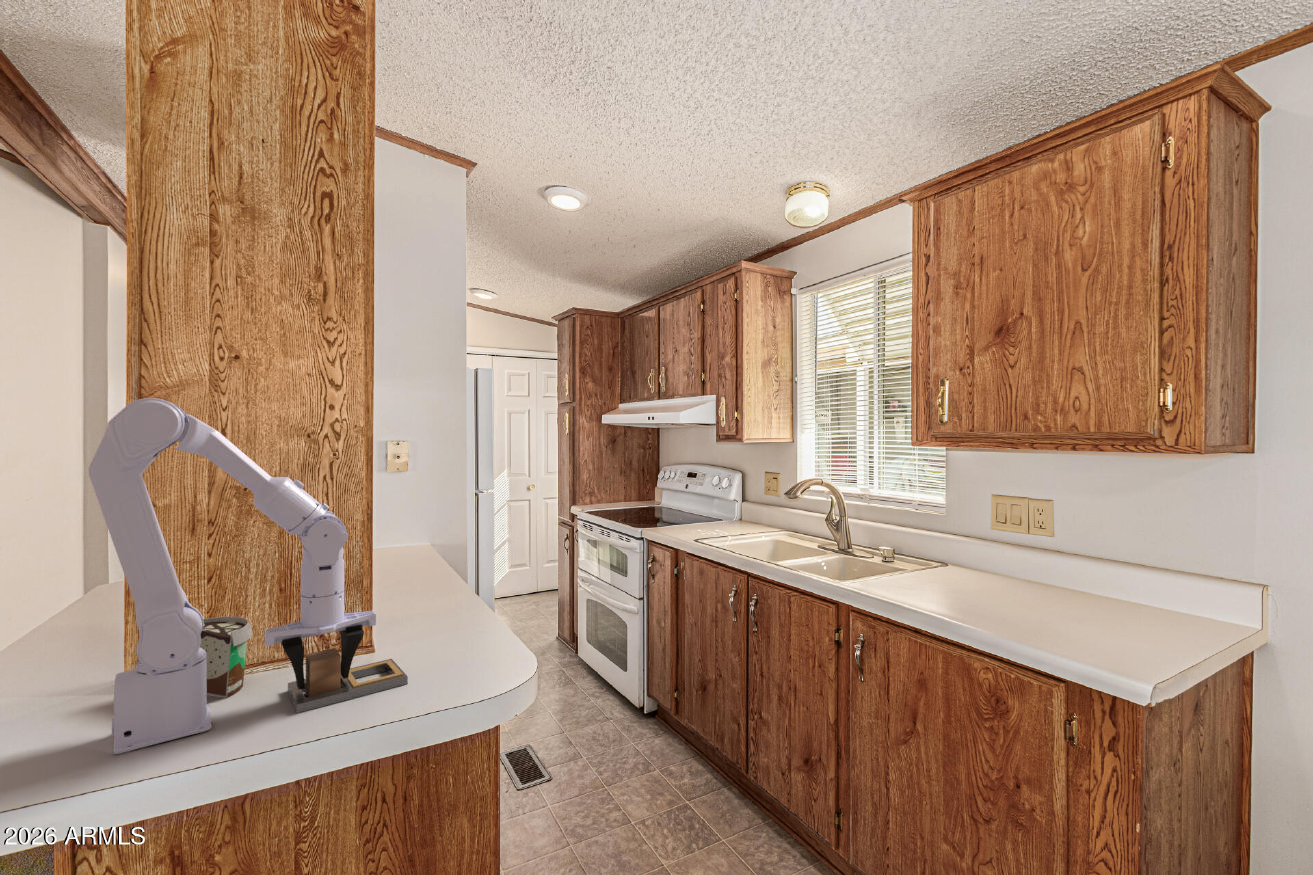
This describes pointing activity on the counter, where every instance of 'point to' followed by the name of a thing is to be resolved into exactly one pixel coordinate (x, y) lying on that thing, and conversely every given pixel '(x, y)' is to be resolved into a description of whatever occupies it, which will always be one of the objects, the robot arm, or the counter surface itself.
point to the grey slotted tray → (351, 686)
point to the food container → (225, 653)
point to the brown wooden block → (323, 672)
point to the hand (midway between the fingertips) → (323, 681)
